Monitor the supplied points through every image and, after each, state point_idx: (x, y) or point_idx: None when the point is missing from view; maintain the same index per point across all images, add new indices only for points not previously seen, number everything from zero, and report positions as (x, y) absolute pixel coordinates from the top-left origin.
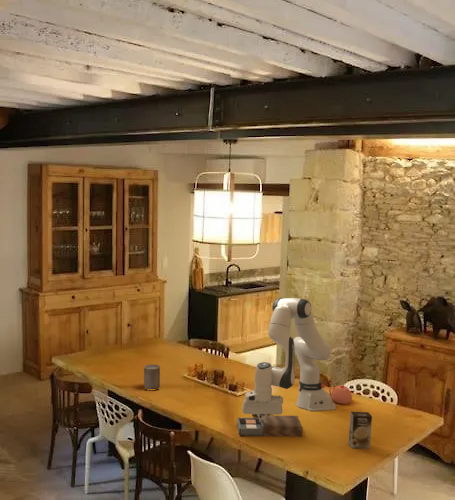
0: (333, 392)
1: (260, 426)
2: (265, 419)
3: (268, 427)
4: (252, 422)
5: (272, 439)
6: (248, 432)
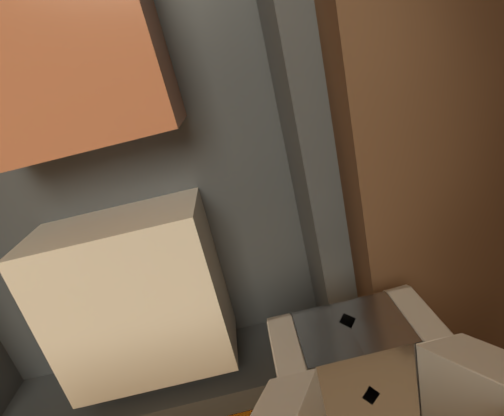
0: None
1: (261, 24)
2: (426, 35)
3: None
4: (88, 106)
5: None
6: None
